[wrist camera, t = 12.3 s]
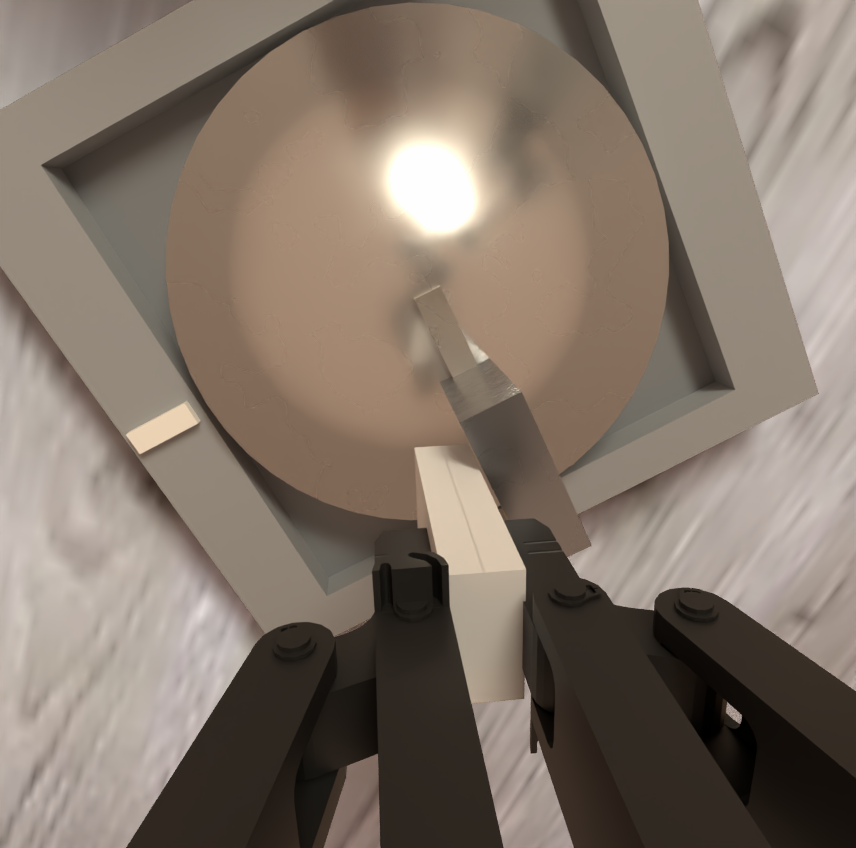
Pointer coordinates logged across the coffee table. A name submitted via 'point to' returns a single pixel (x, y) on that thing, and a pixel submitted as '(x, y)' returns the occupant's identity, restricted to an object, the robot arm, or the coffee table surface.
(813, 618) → the coffee table surface
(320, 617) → the board
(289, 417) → the dial
